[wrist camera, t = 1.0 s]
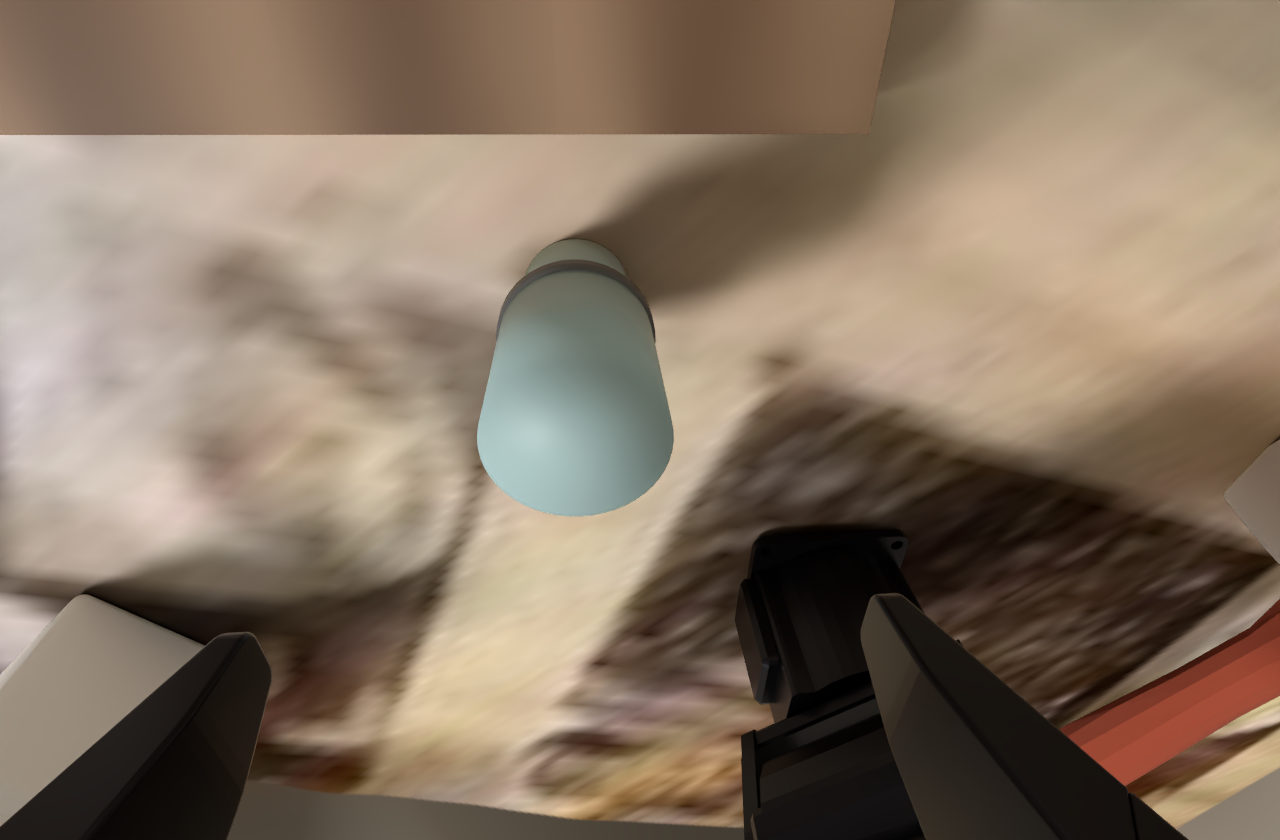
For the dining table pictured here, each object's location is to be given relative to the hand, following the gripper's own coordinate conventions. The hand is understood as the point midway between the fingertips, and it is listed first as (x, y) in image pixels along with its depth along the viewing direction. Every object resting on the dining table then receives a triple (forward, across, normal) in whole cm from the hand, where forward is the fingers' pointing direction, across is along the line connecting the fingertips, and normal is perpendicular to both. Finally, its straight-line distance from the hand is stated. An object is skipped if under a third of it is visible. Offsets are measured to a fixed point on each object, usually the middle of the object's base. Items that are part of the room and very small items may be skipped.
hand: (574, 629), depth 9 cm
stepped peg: (+12, 0, 0) cm, 13 cm away
